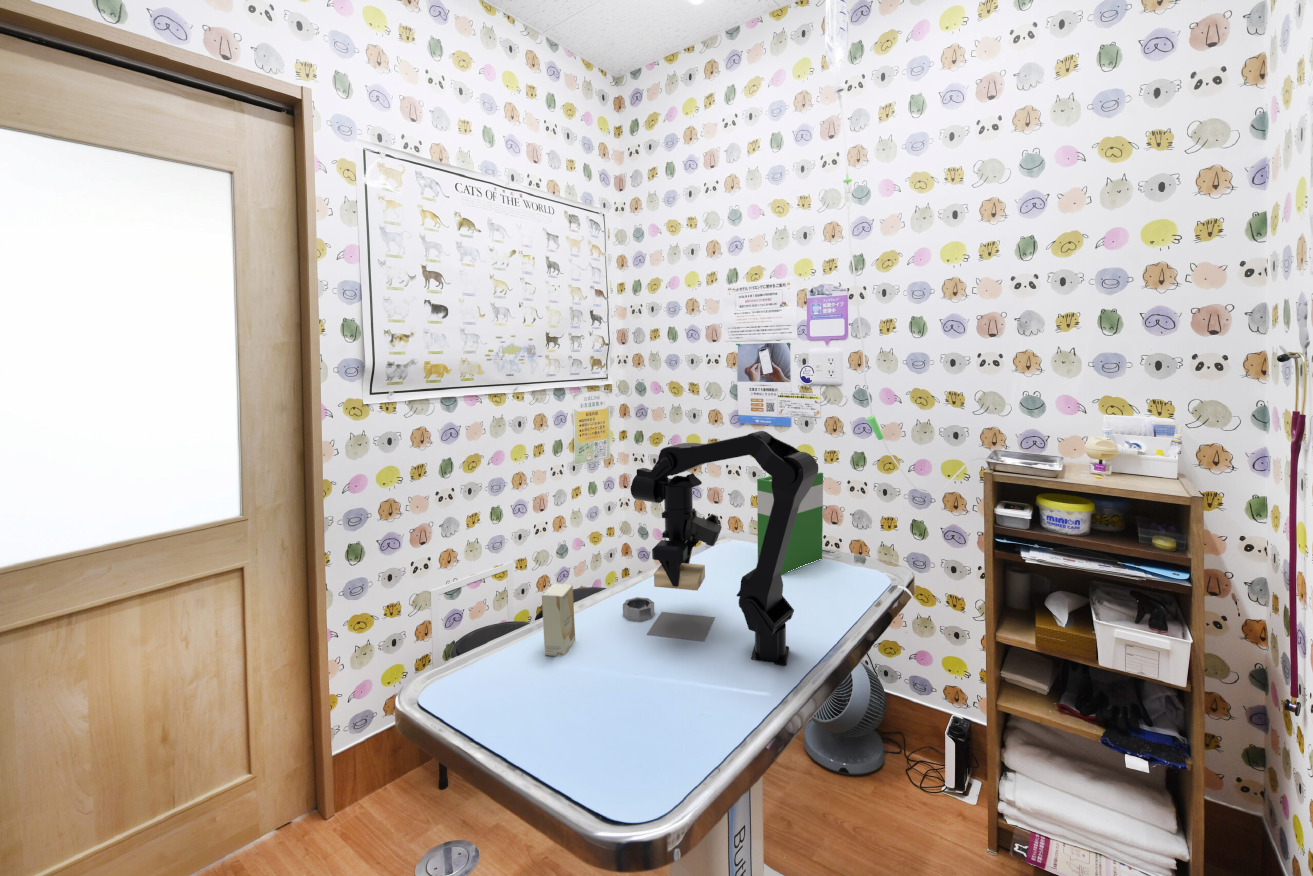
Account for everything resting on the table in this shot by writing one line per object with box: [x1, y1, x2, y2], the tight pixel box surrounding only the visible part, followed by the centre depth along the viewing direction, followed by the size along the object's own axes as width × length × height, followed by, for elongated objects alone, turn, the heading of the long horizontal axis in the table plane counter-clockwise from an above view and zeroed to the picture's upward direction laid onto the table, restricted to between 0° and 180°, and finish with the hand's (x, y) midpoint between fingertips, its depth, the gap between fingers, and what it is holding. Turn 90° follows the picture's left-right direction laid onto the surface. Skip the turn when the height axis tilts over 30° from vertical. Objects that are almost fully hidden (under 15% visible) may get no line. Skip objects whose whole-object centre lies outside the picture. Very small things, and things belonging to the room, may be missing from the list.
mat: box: [646, 611, 716, 642], centre depth 123 cm, size 11×12×1 cm
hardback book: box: [756, 472, 824, 576], centre depth 157 cm, size 18×7×24 cm, turn 128°
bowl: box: [622, 596, 655, 623], centre depth 129 cm, size 6×6×3 cm
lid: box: [653, 563, 706, 592], centre depth 122 cm, size 7×9×3 cm
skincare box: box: [541, 583, 576, 657], centre depth 115 cm, size 6×4×12 cm
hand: (680, 579), depth 122 cm, fingers closed on lid, 7 cm apart
